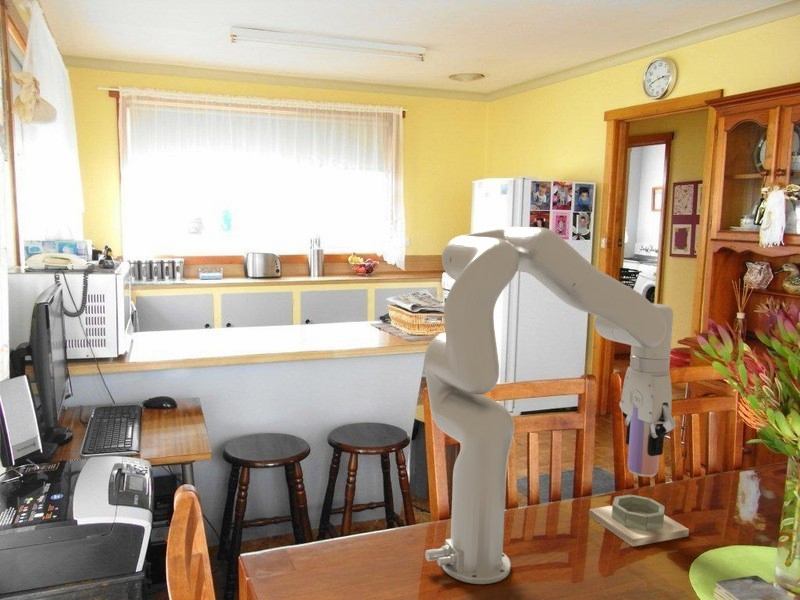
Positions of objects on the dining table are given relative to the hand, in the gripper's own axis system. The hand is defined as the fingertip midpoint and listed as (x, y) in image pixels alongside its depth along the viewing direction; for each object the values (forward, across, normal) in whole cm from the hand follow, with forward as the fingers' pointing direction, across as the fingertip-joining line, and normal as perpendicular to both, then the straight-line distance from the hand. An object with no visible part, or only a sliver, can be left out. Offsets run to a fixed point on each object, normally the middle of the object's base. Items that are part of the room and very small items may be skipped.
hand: (643, 448), depth 136 cm
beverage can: (+5, 0, 0) cm, 5 cm away
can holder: (+17, 0, 0) cm, 17 cm away
